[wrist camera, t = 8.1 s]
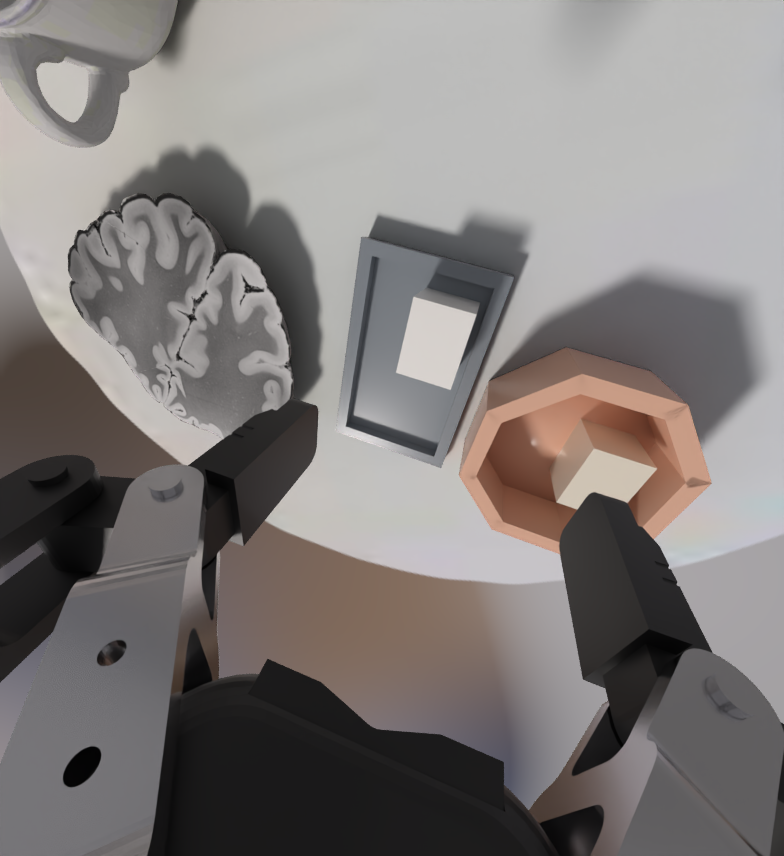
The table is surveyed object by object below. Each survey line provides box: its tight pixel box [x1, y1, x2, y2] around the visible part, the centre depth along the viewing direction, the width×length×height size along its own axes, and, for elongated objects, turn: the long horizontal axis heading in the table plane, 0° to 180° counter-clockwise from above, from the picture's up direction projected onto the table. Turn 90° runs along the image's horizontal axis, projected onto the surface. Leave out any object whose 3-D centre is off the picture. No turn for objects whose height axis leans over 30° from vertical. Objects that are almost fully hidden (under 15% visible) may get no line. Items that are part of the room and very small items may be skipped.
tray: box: [336, 237, 514, 468], centre depth 23 cm, size 14×9×1 cm, turn 168°
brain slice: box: [68, 193, 294, 440], centre depth 25 cm, size 20×17×3 cm
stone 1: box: [396, 287, 480, 390], centre depth 19 cm, size 4×3×4 cm
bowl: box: [459, 347, 712, 554], centre depth 21 cm, size 12×12×5 cm
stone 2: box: [549, 419, 657, 509], centre depth 21 cm, size 4×3×4 cm
